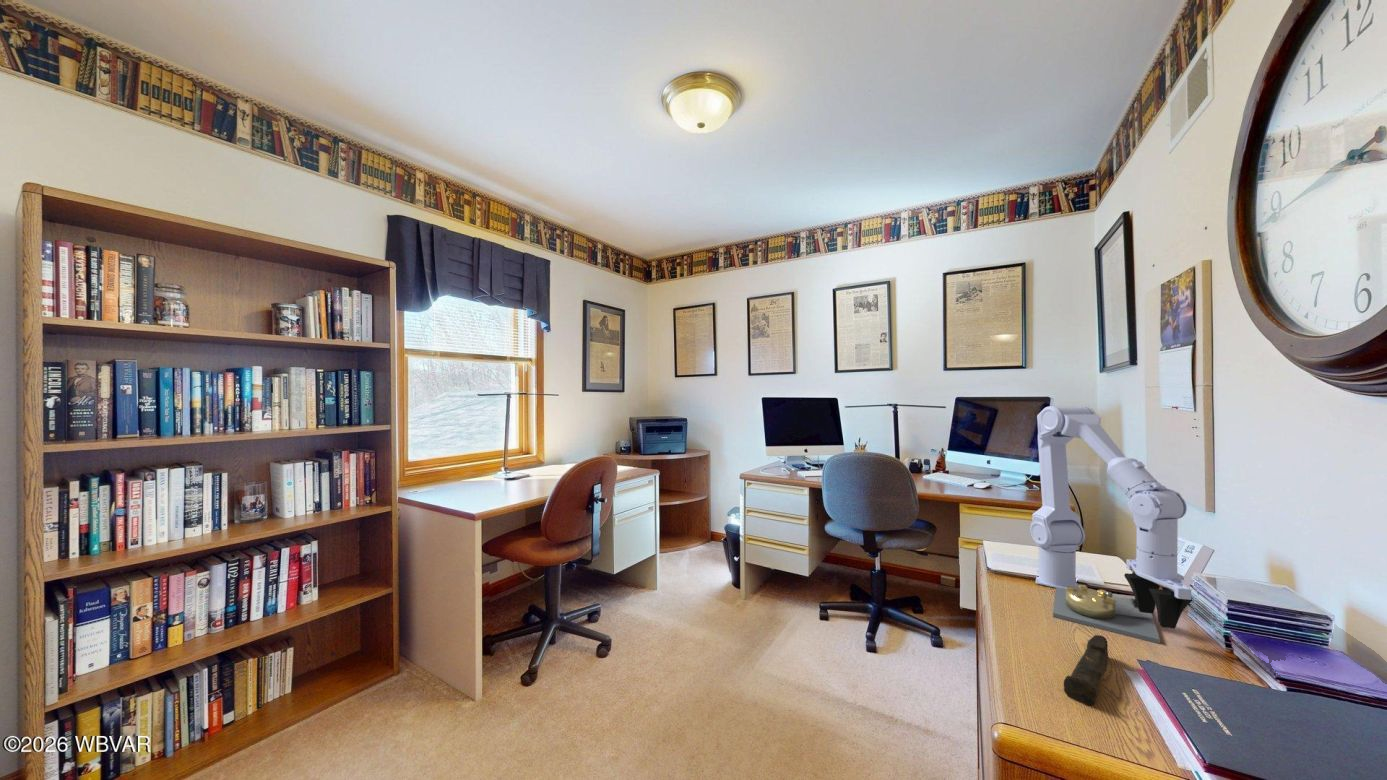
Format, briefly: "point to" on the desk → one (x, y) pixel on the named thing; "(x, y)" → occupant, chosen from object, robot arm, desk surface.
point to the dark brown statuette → (1088, 672)
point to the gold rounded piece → (1101, 603)
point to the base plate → (1107, 620)
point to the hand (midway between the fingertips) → (1156, 619)
